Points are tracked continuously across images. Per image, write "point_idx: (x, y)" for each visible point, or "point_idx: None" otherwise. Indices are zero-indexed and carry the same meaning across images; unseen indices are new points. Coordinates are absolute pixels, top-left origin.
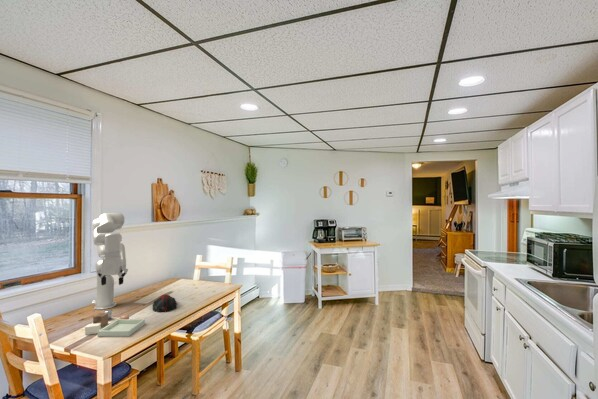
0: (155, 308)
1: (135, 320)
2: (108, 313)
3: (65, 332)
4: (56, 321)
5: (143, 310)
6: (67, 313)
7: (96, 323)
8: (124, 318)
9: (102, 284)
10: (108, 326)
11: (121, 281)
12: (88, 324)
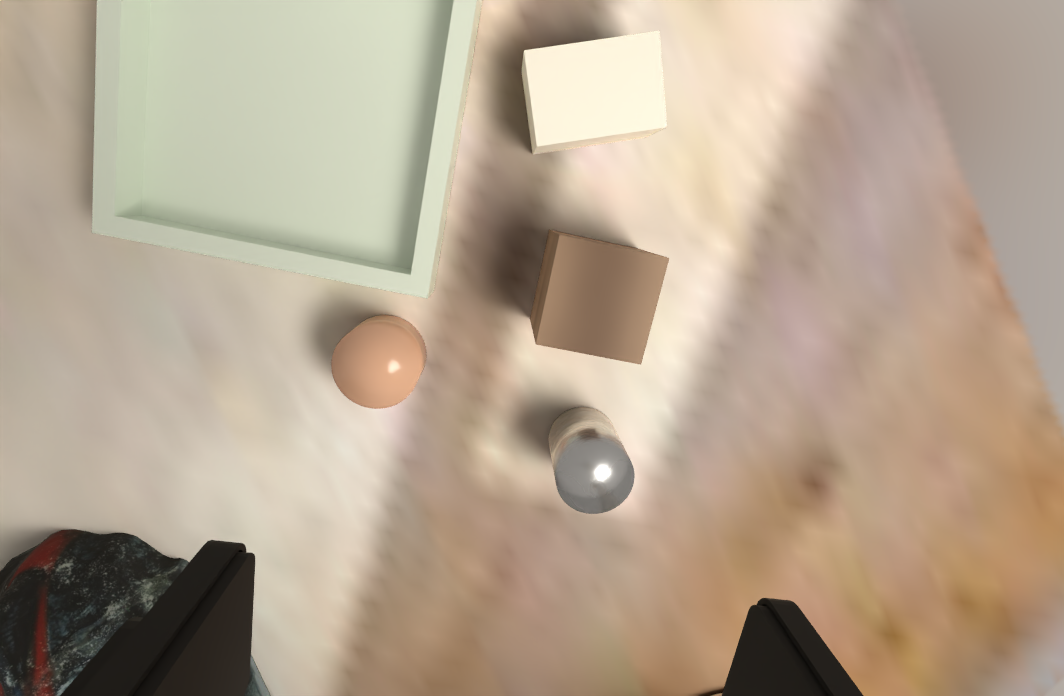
0: (160, 584)
1: (202, 232)
2: (572, 439)
3: (849, 166)
4: (1023, 470)
5: (323, 613)
6: (996, 645)
7: (577, 136)
8: (362, 324)
9: (774, 609)
10: (437, 106)
11: (117, 646)
12: (656, 122)
